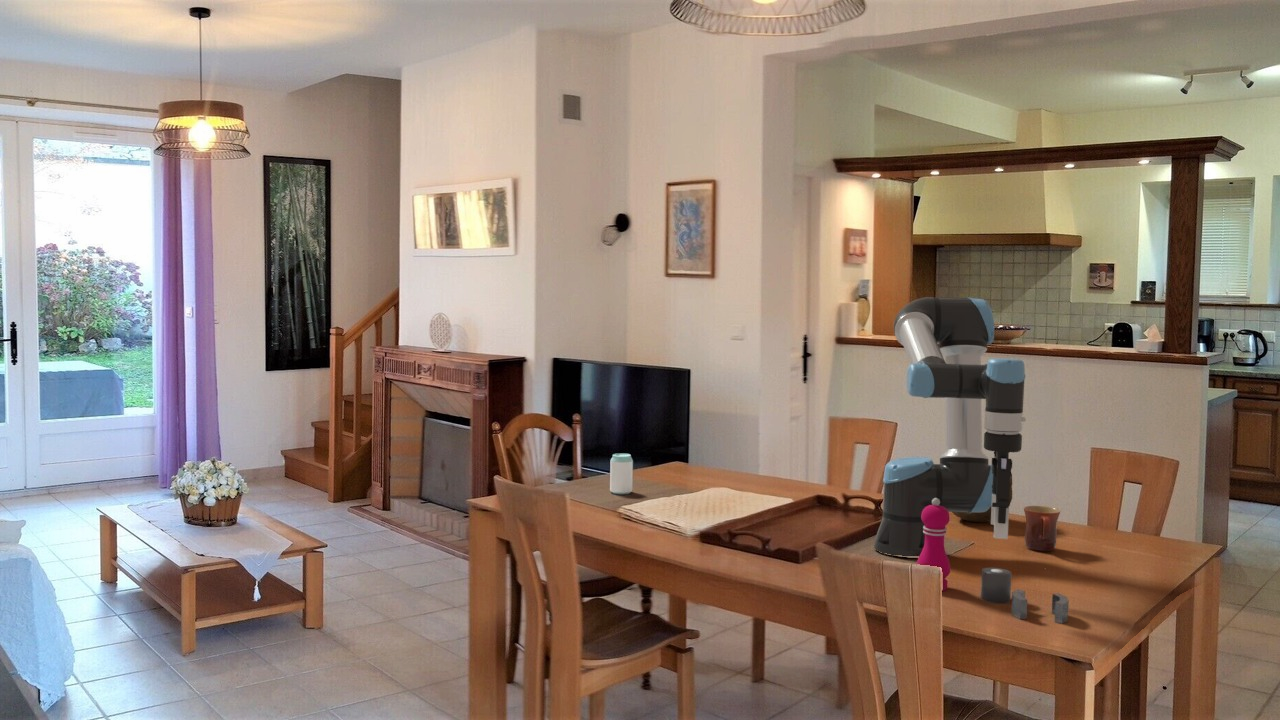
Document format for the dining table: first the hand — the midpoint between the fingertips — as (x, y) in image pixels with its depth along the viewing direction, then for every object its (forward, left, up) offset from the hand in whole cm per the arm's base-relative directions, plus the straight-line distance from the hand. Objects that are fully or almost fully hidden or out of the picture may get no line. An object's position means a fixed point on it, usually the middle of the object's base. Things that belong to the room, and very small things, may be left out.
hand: (999, 531), depth 218 cm
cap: (0, 0, -15) cm, 15 cm away
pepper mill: (-13, +4, -15) cm, 20 cm away
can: (-108, +76, -15) cm, 133 cm away
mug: (+13, +47, -15) cm, 51 cm away
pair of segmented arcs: (+8, -9, -15) cm, 19 cm away
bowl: (-2, +75, -15) cm, 77 cm away
